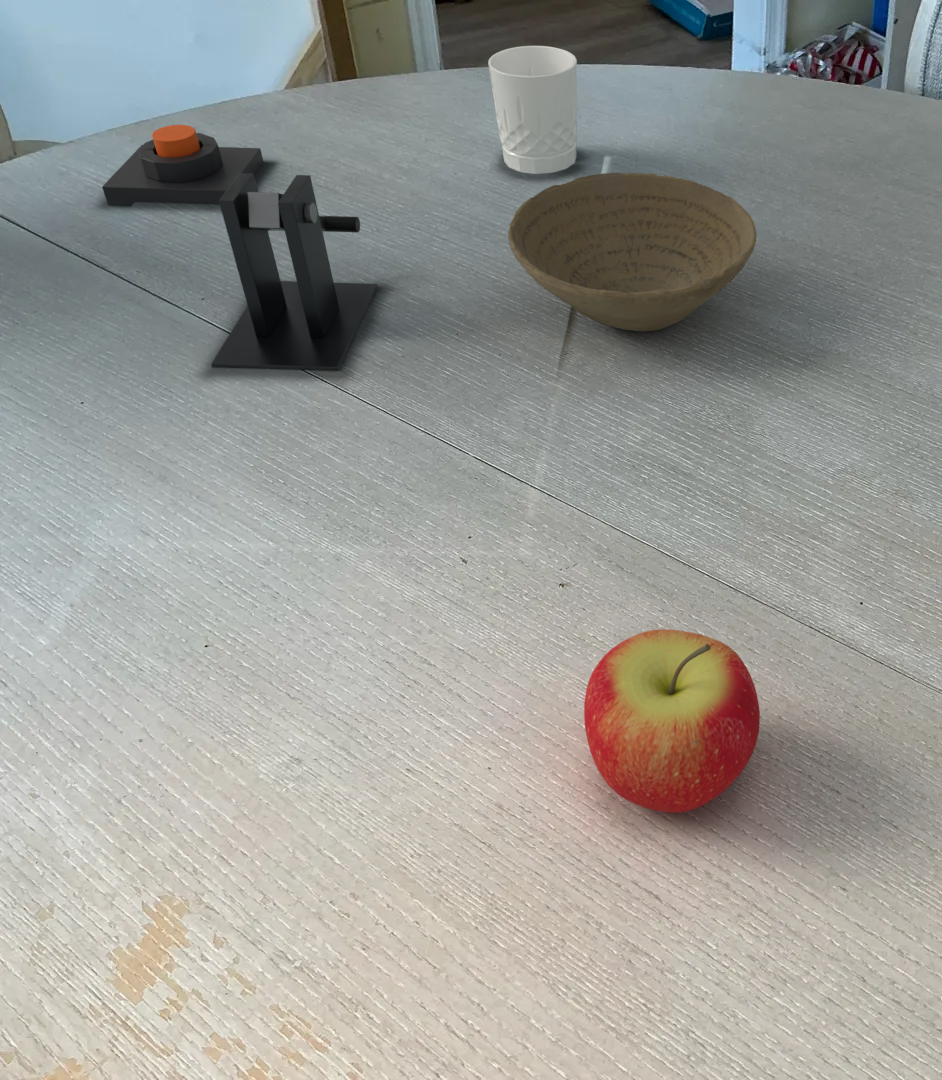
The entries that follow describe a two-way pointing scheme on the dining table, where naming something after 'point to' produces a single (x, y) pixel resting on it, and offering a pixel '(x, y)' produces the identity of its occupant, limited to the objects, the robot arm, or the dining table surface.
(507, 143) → the white cup
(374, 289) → the bracket
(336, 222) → the lever
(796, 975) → the dining table surface
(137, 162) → the button box
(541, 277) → the bowl
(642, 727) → the apple
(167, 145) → the button
